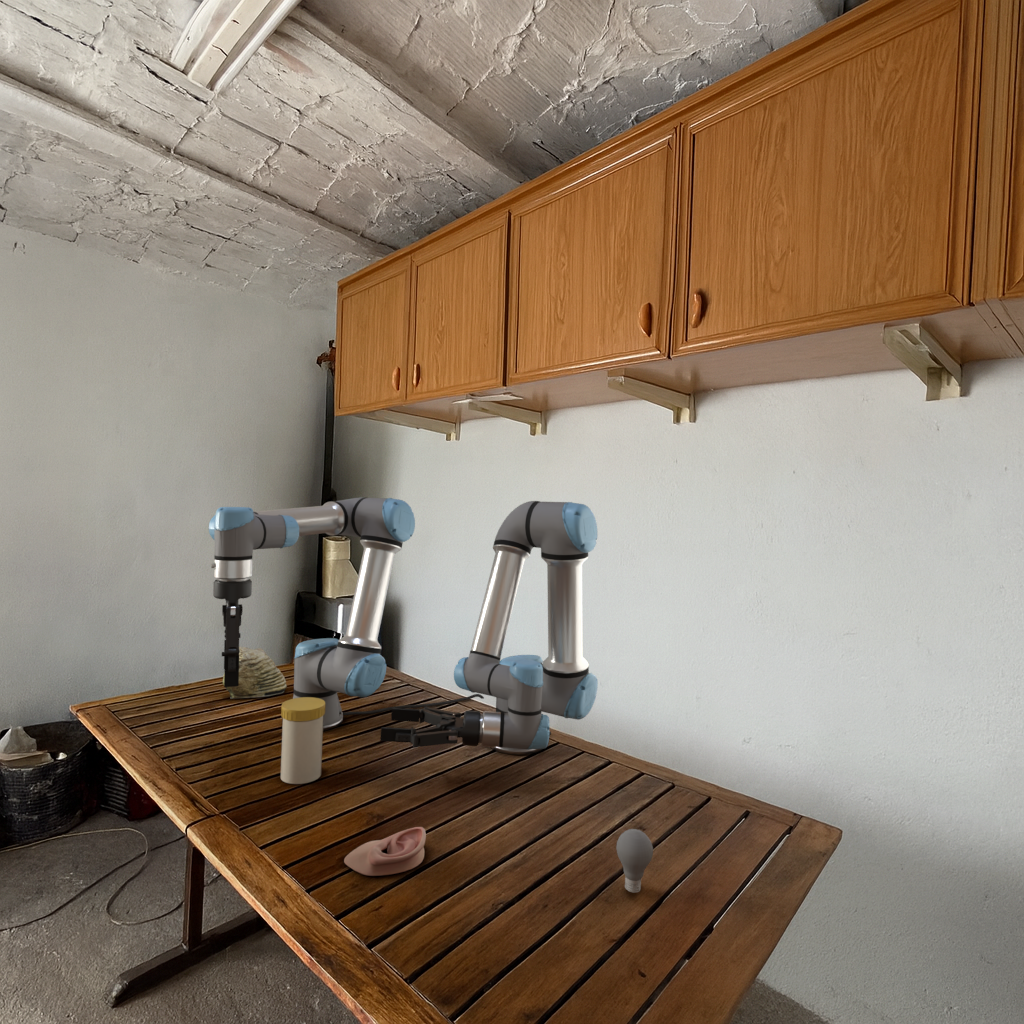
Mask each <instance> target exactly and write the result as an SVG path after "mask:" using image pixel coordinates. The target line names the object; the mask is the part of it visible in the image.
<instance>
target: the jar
mask: <svg viewBox="0 0 1024 1024" xmlns="http://www.w3.org/2000/svg"><path fill="white" fill-rule="evenodd" d="M323 736H324V731H323V716H322V717H320V718H318V719H315V720H310V721H289V720H286V719H284V718H282V726H281V751H280V752H281V753H280V775H279V777H280V780H281V781H282V782H284V783H286V784H290V785H304V784H308V783H312V782H315V781H316V780H318V779H319V778H320V777H321V776H322V763H323V741H324V740H323V739H324V737H323Z"/></svg>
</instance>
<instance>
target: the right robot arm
mask: <svg viewBox="0 0 1024 1024" xmlns="http://www.w3.org/2000/svg"><path fill="white" fill-rule="evenodd" d="M597 541H598V524H597V520H596V516H595V514H594V512H593V511H592V509H591V507H589V506H588V505H586V504H584V503H577V502H572V501H541V500H530V501H526V502H523V503H522V504H519V505H518V506H516V507H515V508H514V509H513V510H512V511H510V512H509V514H508V515H507V516H506V517H505V519H504V520H503V522H502V523H501V525H500V527H499V528H498V530H497V533H496V535H495V537H494V541H493V545H492V549H493V551H494V553H495V554H494V558H493V561H492V565H491V569H490V573H489V577H488V581H487V584H486V588H485V593H484V597H483V601H482V604H481V609H480V611H479V612H480V613H479V615H478V620H477V623H476V628H475V632H474V636H473V639H472V644H471V648H470V650H469V654H468V656H464V657H461V658H460V659H459V660H458V661H457V664H455V666H454V670H453V680H454V683H455V685H456V686H457V687H458V688H459V689H462V690H465V691H468V692H470V693H472V694H480V695H485V696H488V697H489V696H490V697H493V698H495V711H489V710H485V711H483V712H482V713H481V712H480V711H479V710H465V711H464V713H463V718H462V713H461V712H455V711H450V710H445V709H440V708H436V707H432V706H429V707H427V706H426V707H423V708H419V709H418V708H405V709H401V708H392V710H391V715H390V721H394V722H410V723H411V722H412V723H419V724H423V723H427V724H429V725H432V726H430V727H424V728H420V729H416V728H415V727H411V728H408V727H407V728H405V727H404V728H403V727H402V728H401V727H388V726H387V727H385V726H381V728H380V739H379V742H391V743H410V744H412V747H413V748H422V747H430V746H431V747H432V746H439V745H445V744H446V745H447V744H450V745H451V744H452V745H454V744H458V740H459V739H460V738H462V739H461V743H462V745H463V746H465V747H478V746H479V744H481V745H480V746H481V747H488V748H490V749H491V750H493V751H496V752H498V753H502V754H505V755H506V754H507V755H514V756H516V755H517V756H526V755H533V754H536V753H539V752H541V751H542V750H544V749H546V748H547V747H548V746H549V743H550V736H551V735H552V731H550V725H551V724H550V717H549V716H548V715H547V714H549V715H554V716H558V717H562V718H564V719H572V720H578V721H579V720H582V719H584V718H585V717H587V715H588V714H589V713H590V712H591V710H592V709H593V706H594V703H595V701H596V697H597V695H598V687H599V681H598V678H597V675H595V674H594V673H593V672H590V667H589V666H590V665H589V662H588V661H587V660H586V658H585V657H584V656H583V564H584V563H585V561H587V560H588V559H589V553H590V552H592V551H594V549H595V547H596V546H597ZM534 548H537V549H540V558H541V560H543V561H544V562H545V563H546V566H547V567H546V568H547V569H546V571H547V573H546V574H547V654H548V655H547V657H545V659H544V660H543V658H542V656H540V655H537V654H517V655H510V656H506V657H504V658H502V653H503V650H504V645H505V641H506V637H507V633H508V629H509V625H510V621H511V617H512V613H513V609H514V604H515V600H516V596H517V593H518V589H519V585H520V580H521V576H522V572H523V568H524V564H525V561H526V560H527V559H529V558H530V557H531V552H532V550H533V549H534ZM501 658H502V659H501ZM543 713H546V714H543ZM458 738H459V739H458Z"/></svg>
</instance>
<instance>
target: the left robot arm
mask: <svg viewBox="0 0 1024 1024" xmlns="http://www.w3.org/2000/svg"><path fill="white" fill-rule="evenodd" d="M412 509H413V508H412V507H411V506H410V504H408V503H407V502H406V501H405V500H402V499H397V498H393V497H368V496H367V497H366V496H365V497H364V496H363V497H353V498H347V499H340V500H333V501H332V500H331V501H327V502H325V503H324V504H323V505H315V506H302V507H292V508H291V507H290V508H289V507H288V508H278V509H277V508H275V509H268V510H267V509H264V510H254V509H253V508H252V507H248V506H220V507H218V508H217V509H216V511H215V514H214V515H213V516H212V517H211V519H210V520H209V523H208V534H209V535H210V537H211V539H213V541H214V542H213V543H214V544H213V545H214V547H213V549H214V551H213V553H214V554H213V557H214V560H213V561H214V563H211V564H210V568H211V569H214V570H213V577H214V578H215V579H214V581H213V593H212V594H213V595H212V596H213V597H214V598H215V599H217V600H225V604H222V607H221V613H222V614H221V615H222V616H223V618H222V619H223V620H222V621H223V623H222V625H223V627H224V642H223V643H224V644H223V645H224V648H223V651H222V652H221V657H223V670H224V671H223V675H224V676H223V677H224V685H223V688H225V687H234V686H239V652H240V650H239V647H240V639H241V632H240V627H241V625H242V615H243V604H242V603H241V604H240V603H239V600H240V599H248V598H250V597H251V596H252V592H253V591H252V590H253V580H252V579H250V578H252V576H253V556H254V555H253V554H254V550H264V549H265V550H267V549H268V550H269V549H284V548H287V547H288V548H290V547H292V546H294V545H295V544H296V543H297V542H298V540H299V537H303V536H311V535H312V536H313V535H319V534H326V535H327V536H333V537H334V536H347V537H348V536H349V537H355V538H360V539H359V543H360V544H361V546H362V547H363V552H362V557H361V561H360V565H359V571H358V575H357V580H356V585H355V589H354V594H353V598H352V603H351V608H350V612H349V617H348V622H347V626H346V631H345V635H344V636H342V637H341V638H339V639H338V638H335V637H326V638H323V637H322V638H313V639H308V640H304V641H302V642H299V643H298V644H297V645H296V647H295V652H294V653H295V654H294V657H293V659H294V660H293V662H294V663H293V665H294V666H293V695H292V696H293V697H292V699H294V698H301V697H314V698H319V699H322V700H324V701H325V714H324V715H323V732H325V731H329V730H332V729H335V728H337V727H339V726H340V725H342V723H343V722H344V716H360V715H362V716H363V715H364V716H365V715H372V714H373V715H374V714H378V713H383V712H387V711H388V712H389V711H392V708H401V709H418V708H419V709H420V708H424V707H426V706H427V707H438V706H443V705H450V704H454V703H459V702H462V701H469V700H471V699H474V698H480V699H482V700H484V699H485V697H484V696H483V694H480V693H473V694H471V695H469V696H465V697H459V698H456V699H452V700H445V701H438V702H431V703H421V704H420V703H419V704H408V705H393V706H389V707H383V708H379V709H374V710H366V711H365V710H363V711H343V709H342V706H341V702H340V699H339V695H338V693H340V694H344V695H347V696H349V697H357V698H367V697H370V696H372V695H373V694H374V693H375V692H376V691H377V690H378V689H379V688H380V687H381V685H382V684H383V682H384V680H385V678H386V674H387V663H386V659H385V657H384V656H382V655H381V651H382V645H381V644H380V643H379V640H378V639H379V638H378V637H379V633H380V628H381V624H382V619H383V615H384V609H385V604H386V601H387V595H388V589H389V585H390V581H391V580H390V579H391V575H392V571H393V570H392V569H393V565H394V561H395V556H396V554H397V553H398V552H400V551H402V549H403V545H404V544H403V543H405V542H408V541H409V540H410V539H411V537H412V536H413V535H414V533H415V529H416V520H415V519H416V517H415V513H414V512H413V510H412Z"/></svg>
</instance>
